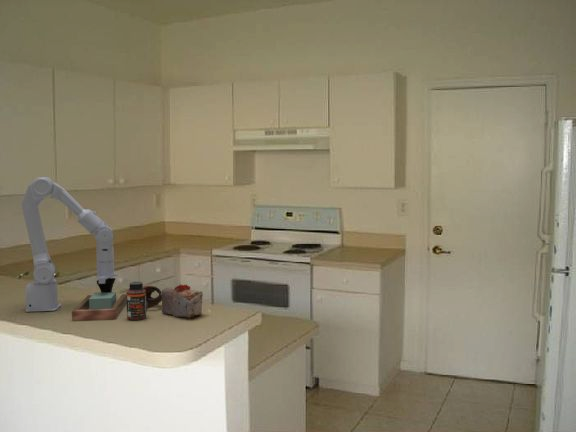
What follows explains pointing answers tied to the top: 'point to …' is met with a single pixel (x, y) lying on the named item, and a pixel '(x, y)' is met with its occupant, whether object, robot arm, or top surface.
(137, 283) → the supplement bottle
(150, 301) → the pottery mug
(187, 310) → the food item
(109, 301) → the block
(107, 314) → the guide channel
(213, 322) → the top surface
